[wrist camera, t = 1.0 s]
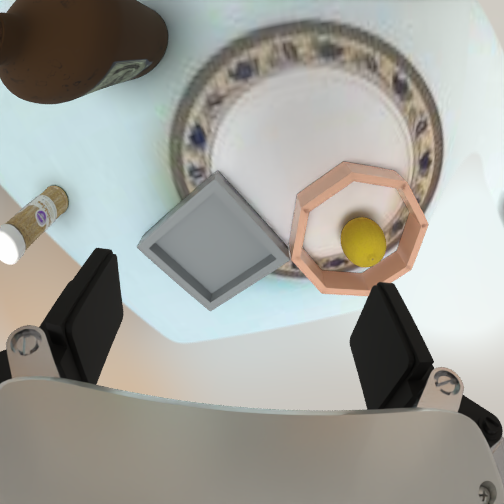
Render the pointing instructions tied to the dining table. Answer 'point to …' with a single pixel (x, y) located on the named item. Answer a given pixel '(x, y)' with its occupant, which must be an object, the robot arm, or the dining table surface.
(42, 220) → the sprinkles bottle
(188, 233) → the grey tray
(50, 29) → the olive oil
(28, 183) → the dining table surface
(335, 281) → the terracotta ring
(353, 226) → the lemon
